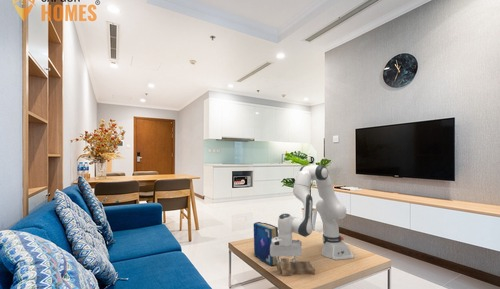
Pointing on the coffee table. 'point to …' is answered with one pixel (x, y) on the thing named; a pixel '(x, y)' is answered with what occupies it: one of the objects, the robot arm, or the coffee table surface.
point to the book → (264, 241)
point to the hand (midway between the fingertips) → (286, 262)
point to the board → (298, 268)
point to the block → (285, 267)
